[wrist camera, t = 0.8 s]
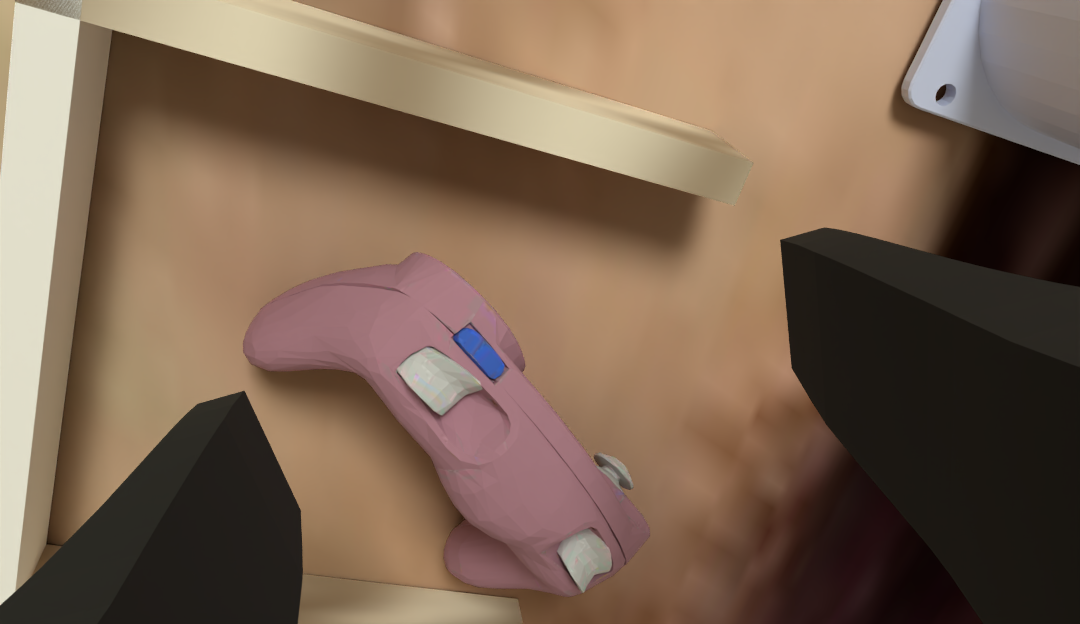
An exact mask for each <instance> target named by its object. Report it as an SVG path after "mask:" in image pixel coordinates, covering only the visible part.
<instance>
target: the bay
mask: <svg viewBox="0 0 1080 624" xmlns="http://www.w3.org/2000/svg"><path fill="white" fill-rule="evenodd" d="M112 30H116V31H119V32H123V33H126V34H130V35H133V36H137V37H140V38H144V39H147V40H151V41H154V42H158V43H161V44H165V45H169V46H172V47H176V48H179V49H183V50H186V51H190V52H193V53H197V54H200V55H204V56H207V57H211V58H214V59H218V60H222V61H225V62H229V63H232V64H236V65H239V66H243V67H246V68H250V69H253V70H257V71H260V72H264V73H267V74H271V75H275V76H278V77H282V78H285V79H289V80H292V81H296V82H299V83H303V84H306V85H310V86H313V87H317V88H320V89H324V90H328V91H331V92H335V93H338V94H342V95H345V96H349V97H352V98H356V99H359V100H363V101H366V102H370V103H373V104H377V105H381V106H384V107H388V108H391V109H395V110H398V111H402V112H405V113H409V114H412V115H416V116H419V117H423V118H426V119H430V120H433V121H437V122H441V123H444V124H448V125H451V126H455V127H458V128H462V129H465V130H469V131H472V132H476V133H479V134H483V135H486V136H490V137H494V138H497V139H501V140H504V141H508V142H511V143H515V144H518V145H522V146H525V147H529V148H532V149H536V150H539V151H543V152H547V153H550V154H554V155H557V156H561V157H564V158H568V159H571V160H575V161H578V162H582V163H585V164H589V165H592V166H596V167H600V168H603V169H607V170H610V171H614V172H617V173H621V174H624V175H628V176H631V177H635V178H638V179H642V180H645V181H649V182H653V183H656V184H660V185H663V186H667V187H670V188H674V189H677V190H681V191H684V192H688V193H691V194H695V195H698V196H702V197H705V198H709V199H713V200H716V201H720V202H723V203H727V204H730V205H734V206H735V204H736V201H737V199H738V197H739V195H740V192H741V190H742V188H743V186H744V183H745V181H746V179H747V177H748V174H749V172H750V170H751V167H752V165H753V162H752V161H751V160H750V159H748V158H747V157H746V156H744V155H743V154H742V153H740V152H739V151H738V150H736V149H735V148H734V147H732V146H731V145H730V144H729V143H727V142H726V141H725V140H723V139H722V138H721V137H719V136H718V135H717V134H715V133H714V132H713V131H711V130H707V129H704V128H701V127H698V126H695V125H691V124H688V123H685V122H682V121H678V120H675V119H672V118H669V117H666V116H662V115H659V114H656V113H653V112H649V111H646V110H643V109H640V108H637V107H633V106H630V105H627V104H624V103H620V102H617V101H614V100H611V99H607V98H604V97H601V96H598V95H595V94H591V93H588V92H585V91H582V90H578V89H575V88H572V87H569V86H566V85H562V84H559V83H556V82H553V81H549V80H546V79H543V78H540V77H537V76H533V75H530V74H527V73H524V72H520V71H517V70H514V69H511V68H508V67H504V66H501V65H498V64H495V63H491V62H488V61H485V60H482V59H479V58H475V57H472V56H469V55H466V54H462V53H459V52H456V51H453V50H450V49H446V48H443V47H440V46H437V45H433V44H430V43H427V42H424V41H421V40H417V39H414V38H411V37H408V36H404V35H401V34H398V33H395V32H392V31H388V30H385V29H382V28H379V27H375V26H372V25H369V24H366V23H362V22H359V21H356V20H353V19H350V18H346V17H343V16H340V15H337V14H333V13H330V12H327V11H324V10H321V9H317V8H314V7H311V6H308V5H304V4H301V3H298V2H295V1H292V0H15V10H14V22H13V34H12V45H11V57H10V69H9V81H8V93H7V105H6V117H5V129H4V141H3V153H2V164H1V176H0V605H1V604H2V603H3V602H4V601H5V600H7V599H8V598H9V597H10V596H11V595H12V594H13V593H14V592H15V591H16V590H17V589H19V588H20V587H21V586H22V585H23V584H24V583H25V582H26V581H27V580H28V579H29V578H30V577H32V576H33V575H34V574H35V573H36V572H37V571H38V570H39V569H40V568H41V567H42V566H43V565H44V564H45V563H46V562H47V561H48V560H49V559H50V558H51V557H52V556H53V555H54V554H55V553H56V552H57V551H58V550H59V549H60V548H61V547H62V546H56V545H47V544H46V542H47V535H48V527H49V519H50V511H51V504H52V496H53V488H54V480H55V472H56V465H57V457H58V449H59V441H60V433H61V426H62V418H63V410H64V402H65V395H66V387H67V379H68V371H69V363H70V356H71V348H72V340H73V332H74V324H75V317H76V309H77V301H78V293H79V286H80V278H81V270H82V262H83V254H84V247H85V239H86V231H87V223H88V215H89V208H90V200H91V192H92V184H93V177H94V169H95V161H96V153H97V145H98V138H99V130H100V122H101V114H102V106H103V99H104V91H105V83H106V75H107V68H108V60H109V52H110V44H111V36H112ZM298 624H523V621H522V616H521V611H520V607H519V602H518V599H514V598H505V597H496V596H488V595H479V594H471V593H462V592H453V591H445V590H436V589H427V588H419V587H410V586H401V585H393V584H384V583H376V582H367V581H358V580H350V579H341V578H332V577H324V576H315V575H306V574H303V579H302V590H301V599H300V608H299V617H298Z"/></svg>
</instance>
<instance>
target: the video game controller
mask: <svg viewBox="0 0 1080 624" xmlns="http://www.w3.org/2000/svg"><path fill="white" fill-rule="evenodd" d="M243 352H244V354H245V356H246V357H247V359H248V360H249V362H250V363H251V364H252V365H255V366H257V367H260V368H262V369H265V370H267V371H299V370H312V369H338V370H343V371H349V372H354V373H356V374H358V375H359V376H361V377H362V378H364V379H365V380H366V381H367V382H368V383H369V384H370V385H371V387H372V388H373V389H374V391H375V392H376V393H377V395H378V396H379V397H380V398H381V400H382V401H383V402H384V404H385V405H386V406H387V408H388V409H389V410H390V411H391V413H392V414H393V415H394V417H395V418H396V419H397V421H398V422H399V423H400V424H401V425H402V426H403V427H404V428H405V429H406V431H407V432H408V433H409V434H410V435H411V436H412V437H413V438H414V439H415V441H416V442H417V443H418V444H419V445H420V446H421V447H422V448H423V449H424V451H425V452H426V453H427V454H428V455H429V456H430V457H431V459H432V462H433V464H434V467H435V469H436V472H437V474H438V476H439V479H440V481H441V483H442V485H443V487H444V489H445V490H446V492H447V494H448V496H449V498H450V500H451V501H452V503H453V505H454V506H455V507H456V508H457V509H458V511H459V512H460V513H461V514H462V515H463V516H464V518H465V520H463V521H462V522H461V523H460V524H459V525H458V526H457V527H455V528H454V529H453V530H452V532H451V533H450V535H449V537H448V539H447V542H446V545H445V548H444V561H445V564H446V568H447V569H448V571H449V572H450V573H451V574H452V575H454V576H455V577H457V578H458V579H460V580H461V581H463V582H464V583H467V584H470V585H473V586H476V587H483V588H496V589H532V590H538V591H543V592H548V593H552V594H556V595H560V596H564V597H572V596H575V595H578V594H581V593H584V592H585V591H586V590H588V589H590V588H592V587H593V586H595V585H597V584H599V583H601V582H602V581H604V580H606V579H608V578H609V577H611V576H613V575H614V574H615V573H616V572H617V571H619V570H620V569H621V568H622V567H623V566H624V565H626V564H627V563H628V561H629V560H630V559H631V558H632V557H633V556H634V554H635V553H636V552H637V551H638V550H639V548H640V547H641V546H642V545H643V544H644V543H645V541H646V540H647V539H648V538H649V537H650V529H649V526H648V524H647V522H646V521H645V519H644V517H643V515H642V514H641V513H640V512H639V511H638V509H637V508H636V507H635V506H634V505H633V504H632V502H631V501H630V500H629V499H628V498H627V496H626V495H625V494H624V493H623V491H622V489H621V487H620V486H622V487H623V488H626V489H629V490H631V489H632V488H633V483H632V480H631V476H630V475H629V472H628V470H627V468H626V467H625V466H624V465H623V464H622V463H621V462H620V461H619V460H618V459H616V458H615V457H613V456H609V455H607V454H602V453H596V454H594V459H595V461H596V462H597V464H598V465H599V466H597V465H595V464H594V462H593V461H592V459H591V458H590V457H589V455H588V454H587V452H586V451H585V449H584V448H583V447H582V445H581V444H580V443H579V442H578V440H577V439H576V438H575V436H574V435H573V434H572V432H571V431H570V430H569V429H568V427H567V426H566V425H565V423H564V422H563V421H562V419H561V418H560V417H559V416H558V414H557V413H556V412H555V411H554V410H553V408H552V407H551V406H550V405H549V404H548V403H547V401H546V400H545V399H544V398H543V397H542V395H541V394H540V393H539V392H538V391H537V390H536V388H535V387H534V386H533V385H532V384H531V383H530V381H529V380H528V379H527V378H526V377H525V376H524V374H523V373H522V372H523V371H524V368H525V360H524V357H523V354H522V351H521V349H520V346H519V344H518V342H517V340H516V338H515V337H514V335H513V333H512V332H511V330H510V328H509V327H508V326H507V324H506V323H505V322H504V321H503V319H502V318H501V317H500V316H499V314H498V313H497V312H496V310H495V309H494V308H493V307H492V306H491V305H490V304H489V303H488V302H487V301H486V300H485V299H484V298H483V297H482V296H481V295H480V294H479V293H478V292H477V291H476V290H475V289H474V288H473V287H472V286H471V285H470V284H469V283H467V282H466V281H465V280H464V279H463V278H462V277H461V276H460V275H459V274H458V273H456V272H455V271H454V270H452V269H451V268H449V267H448V266H446V265H445V264H444V263H442V262H441V261H439V260H437V259H435V258H433V257H431V256H429V255H426V254H423V253H418V252H416V253H412V254H411V255H410V256H408V257H407V258H406V259H405V260H403V261H402V262H401V263H400V264H398V265H388V264H386V265H379V266H373V267H367V268H360V269H354V270H347V271H341V272H336V273H333V274H329V275H326V276H323V277H319V278H316V279H312V280H310V281H308V282H305V283H303V284H300V285H298V286H296V287H294V288H292V289H290V290H288V291H286V292H285V293H283V294H281V295H280V296H278V297H276V298H275V299H273V300H272V301H270V302H269V303H268V304H266V305H265V306H264V307H263V308H261V309H260V311H259V312H258V314H257V315H256V316H255V318H254V319H253V321H252V322H251V324H250V326H249V328H248V330H247V332H246V334H245V338H244V341H243Z"/></svg>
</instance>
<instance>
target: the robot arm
mask: <svg viewBox="0 0 1080 624" xmlns="http://www.w3.org/2000/svg"><path fill="white" fill-rule="evenodd" d="M945 84H946V92H945V95H944V96H943V97H942V98H941V99H940V100H938V101H936V99H935V97H936V93H937V91H938V90H939V88H940V87H941V86H943V85H945ZM901 91H902V97H903V99H904V101H905V102H906V103H907V104H909V105H911V106H913V107H915V108H917V109H920V110H923V111H926V112H929V113H932V114H934V115H937V116H940V117H943V118H946V119H949V120H952V121H955V122H957V123H960V124H963V125H966V126H969V127H972V128H975V129H978V130H981V131H983V132H986V133H989V134H992V135H995V136H998V137H1001V138H1004V139H1006V140H1009V141H1012V142H1015V143H1018V144H1021V145H1024V146H1027V147H1029V148H1032V149H1035V150H1038V151H1041V152H1044V153H1047V154H1050V155H1052V156H1055V157H1058V158H1061V159H1064V160H1067V161H1070V162H1073V163H1076V164H1078V165H1080V0H943V1H942V3H941V5H940V7H939V9H938V11H937V13H936V15H935V17H934V19H933V21H932V23H931V25H930V27H929V29H928V32H927V34H926V36H925V38H924V40H923V42H922V44H921V46H920V48H919V50H918V52H917V54H916V56H915V58H914V60H913V62H912V64H911V66H910V68H909V70H908V72H907V74H906V76H905V78H904V81H903V84H902V87H901ZM780 242H781V253H782V265H783V276H784V287H785V298H786V309H787V320H788V331H789V343H790V354H791V365H792V369H793V371H794V373H795V374H796V376H797V378H798V379H799V381H800V383H801V384H802V386H803V388H804V389H805V391H806V393H807V394H808V396H809V398H810V400H811V401H812V403H813V404H814V406H815V407H816V409H817V410H818V412H819V414H820V415H821V417H822V418H823V420H824V421H825V423H826V425H827V426H828V427H829V428H830V429H831V431H832V432H833V433H834V434H835V436H836V437H837V438H838V439H839V441H840V442H841V443H842V444H843V445H844V447H845V448H846V449H847V450H848V451H849V453H850V454H851V455H852V456H853V457H854V459H855V460H856V461H857V462H858V463H859V465H860V466H861V467H862V468H863V469H864V471H865V472H866V473H867V474H868V475H869V477H870V478H871V479H872V480H873V481H874V482H875V484H876V485H877V486H878V487H879V488H880V490H881V491H882V492H883V493H884V494H885V495H886V497H887V498H888V499H889V500H890V501H891V503H892V504H893V505H894V506H895V507H896V508H897V510H898V511H899V512H900V513H901V514H902V516H903V517H904V518H905V519H906V520H907V521H908V523H909V524H910V525H911V526H912V527H913V529H914V530H915V531H916V532H917V533H918V534H919V536H920V537H921V538H922V539H923V540H924V542H925V543H926V544H927V545H928V546H929V548H930V549H931V550H932V552H933V553H934V554H935V556H936V557H937V558H938V559H939V561H940V562H941V563H942V565H943V566H944V567H945V569H946V570H947V571H948V572H949V574H950V575H951V577H952V578H953V580H954V581H955V583H956V584H957V586H958V587H959V588H960V590H961V591H962V593H963V594H964V596H965V597H966V599H967V600H968V602H969V603H970V605H971V606H972V608H973V609H974V611H975V612H976V614H977V615H978V617H979V618H980V620H981V621H982V623H983V624H1080V287H1077V286H1071V285H1065V284H1060V283H1055V282H1049V281H1045V280H1040V279H1035V278H1031V277H1026V276H1021V275H1017V274H1012V273H1007V272H1002V271H998V270H994V269H990V268H986V267H981V266H977V265H973V264H969V263H965V262H961V261H957V260H953V259H950V258H946V257H942V256H938V255H935V254H931V253H927V252H923V251H920V250H916V249H912V248H909V247H905V246H901V245H898V244H894V243H890V242H887V241H883V240H879V239H876V238H872V237H868V236H864V235H860V234H856V233H852V232H847V231H843V230H837V229H831V228H821V229H817V230H814V231H810V232H807V233H803V234H800V235H796V236H793V237H789V238H785V239H782V240H780ZM302 579H303V567H302V531H301V510H300V508H299V506H298V504H297V502H296V499H295V497H294V495H293V493H292V491H291V489H290V487H289V484H288V482H287V480H286V478H285V476H284V474H283V472H282V470H281V467H280V465H279V463H278V461H277V459H276V457H275V455H274V453H273V450H272V448H271V446H270V444H269V442H268V440H267V438H266V436H265V433H264V431H263V429H262V427H261V425H260V423H259V421H258V419H257V416H256V414H255V412H254V410H253V408H252V406H251V404H250V402H249V399H248V397H247V395H246V393H245V391H242V392H238V393H235V394H231V395H228V396H224V397H221V398H217V399H214V400H210V401H206V402H203V403H199V404H197V405H196V406H195V407H194V408H193V409H191V410H190V411H189V412H188V413H187V414H186V415H185V416H184V417H183V418H182V419H181V420H180V421H179V422H178V423H177V424H176V425H175V426H174V427H173V428H172V429H171V430H170V432H169V433H168V434H167V435H166V436H165V437H164V438H163V439H162V440H161V441H160V442H159V444H158V445H157V446H156V447H155V448H154V449H153V450H152V451H151V452H150V453H149V455H148V456H147V457H146V458H145V459H144V460H143V461H142V462H141V463H140V465H139V466H138V467H137V468H136V469H135V470H134V471H133V472H132V473H131V474H130V476H129V477H128V478H127V479H126V480H125V481H124V482H123V483H122V484H121V485H120V486H119V488H118V489H117V490H116V491H115V492H114V493H113V494H112V495H111V496H110V497H109V499H108V500H107V501H106V502H105V503H104V504H103V505H102V506H101V507H100V508H99V509H98V510H97V511H96V512H95V513H94V514H93V515H92V516H91V517H90V518H89V519H88V520H87V521H86V522H85V523H84V525H83V526H82V527H81V528H80V529H79V530H78V531H77V532H76V533H75V534H74V535H73V536H72V537H71V538H70V539H69V540H68V541H67V542H66V543H65V544H64V545H63V546H62V547H61V548H60V549H59V550H58V551H57V552H56V553H55V554H54V555H53V556H52V557H51V558H50V559H49V560H48V561H47V562H46V563H45V564H44V565H43V566H42V567H41V568H40V569H39V570H38V571H37V572H36V573H35V574H34V575H33V576H32V577H30V578H29V579H28V580H27V581H26V582H25V583H24V584H23V585H22V586H21V587H20V588H19V589H17V590H16V591H15V592H14V593H13V594H12V595H11V596H10V597H9V598H8V599H7V600H5V601H4V602H3V603H2V604H1V605H0V624H298V617H299V608H300V599H301V590H302Z"/></svg>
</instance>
